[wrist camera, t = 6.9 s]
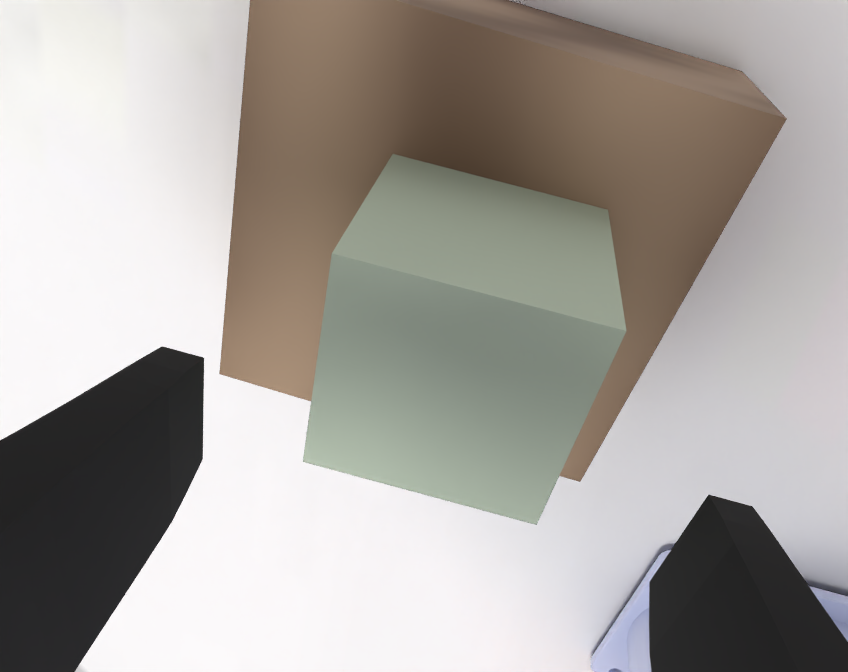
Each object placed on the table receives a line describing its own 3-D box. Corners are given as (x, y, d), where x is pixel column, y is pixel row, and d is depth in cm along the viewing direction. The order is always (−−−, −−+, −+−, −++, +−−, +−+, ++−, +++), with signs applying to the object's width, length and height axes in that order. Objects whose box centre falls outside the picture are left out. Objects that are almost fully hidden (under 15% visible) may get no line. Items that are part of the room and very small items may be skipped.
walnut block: (738, 67, 15) (786, 118, 12) (576, 388, 21) (579, 481, 18) (318, -60, 15) (253, -43, 12) (271, 297, 21) (219, 373, 18)
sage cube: (607, 209, 14) (626, 330, 10) (541, 378, 16) (536, 524, 12) (393, 154, 14) (331, 253, 10) (361, 331, 16) (302, 461, 13)
